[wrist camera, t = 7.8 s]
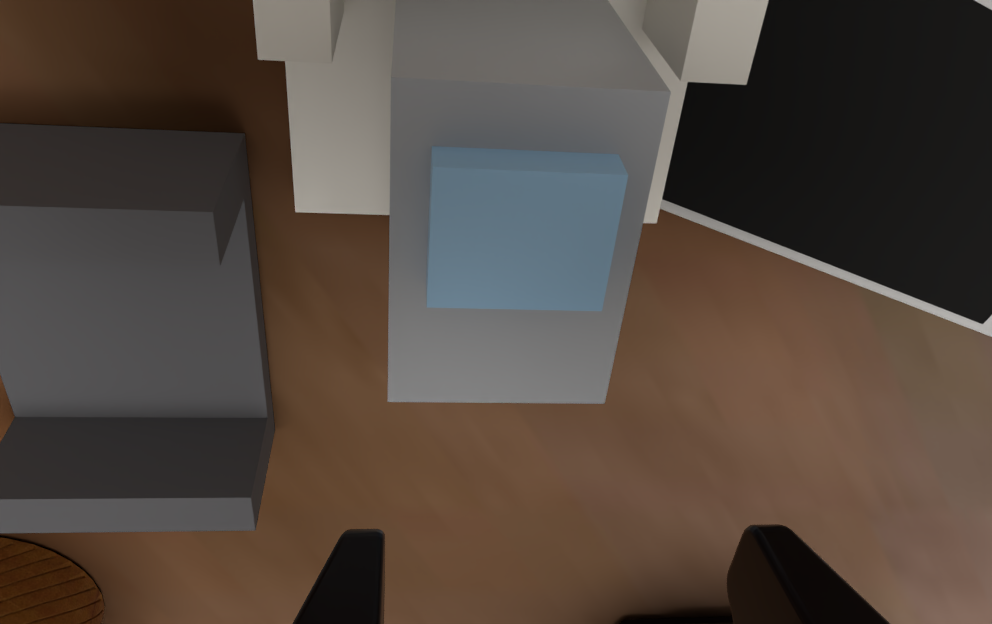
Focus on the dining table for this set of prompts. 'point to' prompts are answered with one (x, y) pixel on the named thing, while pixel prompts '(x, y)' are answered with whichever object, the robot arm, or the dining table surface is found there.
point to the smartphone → (855, 149)
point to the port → (367, 83)
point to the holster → (130, 332)
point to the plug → (514, 197)
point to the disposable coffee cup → (44, 588)
